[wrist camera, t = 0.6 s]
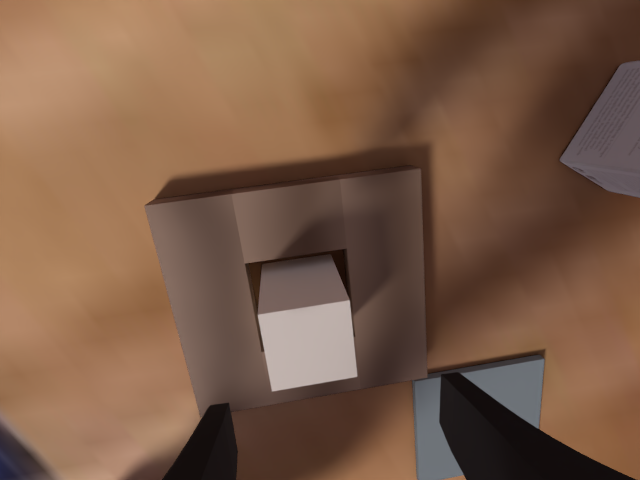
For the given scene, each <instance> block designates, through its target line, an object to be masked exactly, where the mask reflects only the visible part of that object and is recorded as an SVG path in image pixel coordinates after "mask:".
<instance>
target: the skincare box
mask: <svg viewBox="0 0 640 480" xmlns="http://www.w3.org/2000/svg"><path fill="white" fill-rule="evenodd" d="M560 162H562V163H563V164H565V165H567V166H568V167H570V168H572V169H573V170H575V171H576V172H578V173H580V174H581V175H583V176H585V177H586V178H588V179H590V180H591V181H593V182H594V183H596V184H598V185H599V186H601V187H602V188H604V189H605V190H607V191H610V192H615V193H620V194H625V195H630V196H635V197H639V198H640V60H638V61H632V62H627V63H623V64H621V65H620V66H619V67H618V69H617V71H616V72H615V74H614V75H613V77H612V79H611V80H610V82H609V83H608V85H607V86H606V88H605V90H604V91H603V93H602V94H601V96H600V97H599V99H598V100H597V102H596V103H595V105H594V107H593V108H592V110H591V111H590V113H589V115H588V116H587V118H586V119H585V121H584V122H583V124H582V125H581V127H580V128H579V130H578V132H577V133H576V135H575V136H574V138H573V139H572V141H571V142H570V144H569V146H568V147H567V149H566V150H565V152H564V153H563V155H562V156H561V158H560Z"/></svg>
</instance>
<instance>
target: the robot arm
mask: <svg viewBox="0 0 640 480" xmlns="http://www.w3.org/2000/svg"><path fill="white" fill-rule="evenodd" d="M439 423H440V425H441V428H442V430H443V433H444V435H445V438H446V440H447V443H448V445H449V447H450V450H451V452H452V454H453V456H454V458H455V459H456V461H457V463H458V465H459V467H460V469H461V470H462V472H463V474H464V476H465V478H466V480H636V479H633V478H631V477H629V476H627V475H624V474H622V473H620V472H618V471H616V470H614V469H611V468H609V467H607V466H605V465H603V464H601V463H599V462H597V461H595V460H593V459H591V458H589V457H587V456H585V455H583V454H581V453H579V452H577V451H576V450H574V449H572V448H570V447H568V446H567V445H565V444H563V443H561V442H559V441H558V440H556V439H554V438H552V437H551V436H549V435H547V434H546V433H544V432H543V431H541V430H539V429H538V428H536V427H535V426H533V425H532V424H530V423H528V422H527V421H525V420H524V419H522V418H521V417H519V416H518V415H516V414H515V413H514V412H512V411H511V410H509V409H508V408H506V407H505V406H504V405H502V404H501V403H499V402H498V401H497V400H495V399H494V398H492V397H491V396H490V395H488V394H487V393H486V392H484V391H483V390H482V389H480V388H479V387H478V386H476V385H475V384H474V383H472V382H471V381H470V380H468V379H467V378H466V377H464V376H463V375H462V374H460V373H459V372H454V373H447V374H441V386H440V413H439ZM237 453H238V451H237V445H236V439H235V434H234V428H233V422H232V417H231V411H230V405H229V403H222V404H215V405H210V406H209V407H208V408H207V410H206V412H205V413H204V415H203V417H202V419H201V421H200V422H199V424H198V426H197V427H196V429H195V431H194V432H193V434H192V436H191V437H190V439H189V441H188V442H187V444H186V445H185V447H184V448H183V450H182V451H181V453H180V454H179V456H178V458H177V459H176V461H175V462H174V464H173V465H172V466H171V468H170V469H169V471H168V472H167V473H166V475H165V476H164V478H163V479H162V480H236V472H237Z"/></svg>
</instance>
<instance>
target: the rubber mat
mask: <svg viewBox="0 0 640 480" xmlns="http://www.w3.org/2000/svg"><path fill="white" fill-rule="evenodd" d="M543 371H544V358H543V357H542V356H541V355H534V356H528V357H523V358H517V359H511V360H506V361H500V362H494V363H488V364H483V365H477V366H471V367H465V368H460V369H454V370H448V371H443V372H437V373H431V374H427V378H422V379H416V380H412V385H413V407H414V428H415V450H416V471H417V479H418V480H441V479H446V478H451V477H456V476H461V475H464V474H463V472H462V470H461V469H460V467H459V465H458V463H457V461H456V459H455V458H454V456H453V454H452V452H451V450H450V447H449V445H448V443H447V440H446V438H445V435H444V433H443V430H442V428H441V425H440V423H439V413H440V386H441V374H447V373H454V372H459V373H460V374H462V375H463V376H464V377H466V378H467V379H468V380H470V381H471V382H472V383H474V384H475V385H476V386H478V387H479V388H480V389H482V390H483V391H484V392H486V393H487V394H488V395H490V396H491V397H492V398H494V399H495V400H497V401H498V402H499V403H501V404H502V405H504V406H505V407H506V408H508V409H509V410H511V411H512V412H514V413H515V414H516V415H518V416H519V417H521V418H522V419H524V420H525V421H527V422H528V423H530V424H532V425H533V426H535V427H536V428H538V429H539V419H540V407H541V395H542V383H543Z"/></svg>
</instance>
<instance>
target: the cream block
mask: <svg viewBox="0 0 640 480" xmlns="http://www.w3.org/2000/svg"><path fill="white" fill-rule="evenodd" d="M258 319H259V325H260V330H261V335H262V341H263V346H264V351H265V357H266V362H267V367H268V373H269V378H270V383H271V389H272V391H278V390H284V389H290V388H295V387H301V386H307V385H313V384H319V383H324V382H330V381H336V380H342V379H348V378H353V377H357V368H356V358H355V348H354V338H353V328H352V318H351V308H350V300H349V297H348V295H347V292H346V290H345V288H344V285H343V283H342V280H341V278H340V275H339V273H338V271H337V268H336V266H335V263H334V261H333V258H332V256H331V254H326V255H320V256H313V257H306V258H299V259H293V260H286V261H279V262H273V263H266V264H262V270H261V282H260V293H259V305H258Z"/></svg>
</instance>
